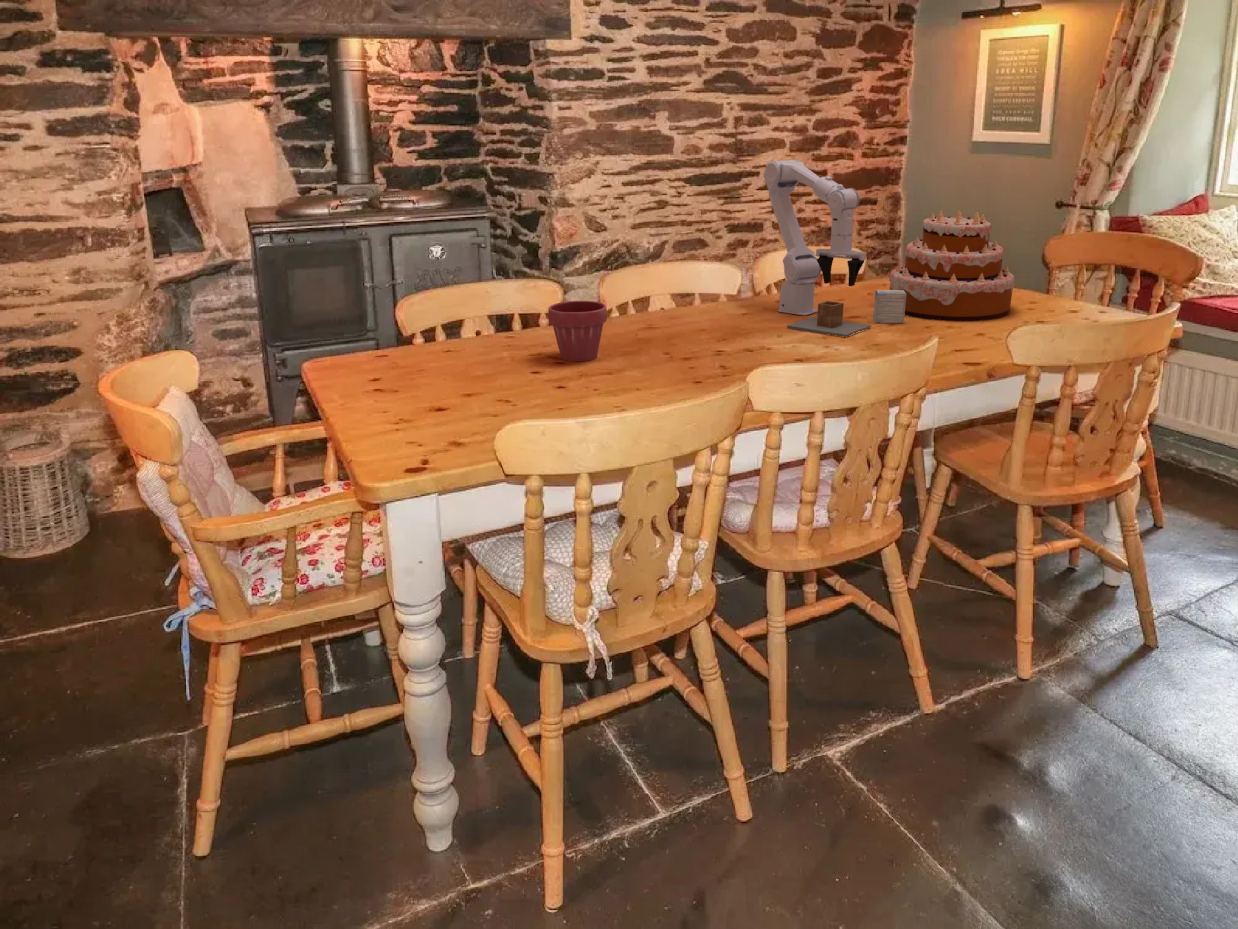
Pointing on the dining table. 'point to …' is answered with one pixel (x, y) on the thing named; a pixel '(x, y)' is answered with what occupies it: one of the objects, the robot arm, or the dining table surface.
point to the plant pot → (578, 328)
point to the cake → (954, 272)
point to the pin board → (841, 330)
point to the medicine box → (889, 306)
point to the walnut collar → (830, 314)
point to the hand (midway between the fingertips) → (839, 284)
